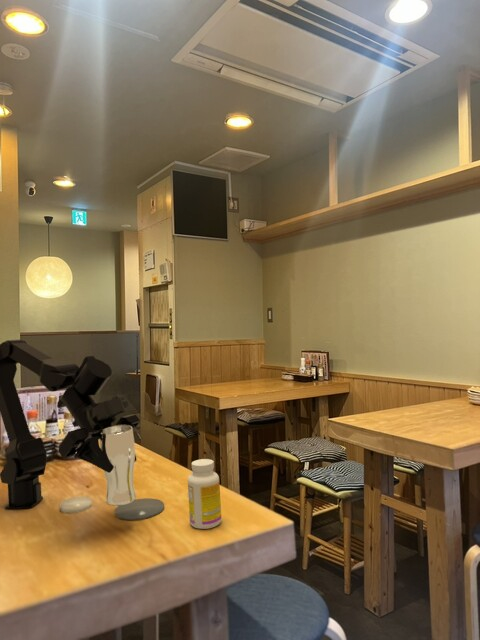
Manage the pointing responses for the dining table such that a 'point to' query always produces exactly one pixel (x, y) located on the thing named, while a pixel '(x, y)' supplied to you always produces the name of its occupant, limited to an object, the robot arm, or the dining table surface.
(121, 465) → the beer glass
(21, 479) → the robot arm
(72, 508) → the dish
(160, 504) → the coaster
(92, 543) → the dining table surface
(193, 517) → the supplement bottle
